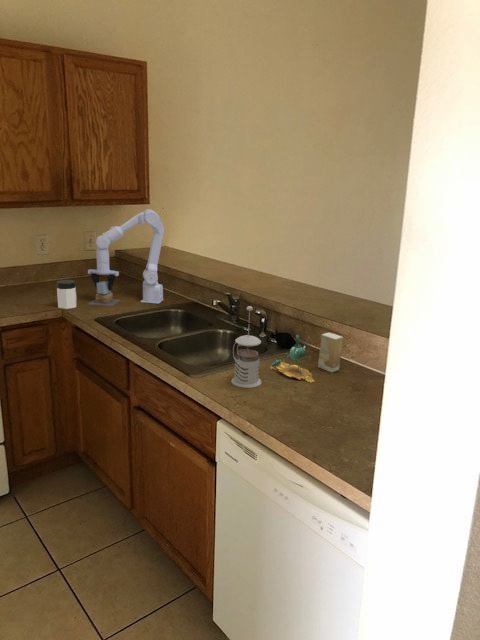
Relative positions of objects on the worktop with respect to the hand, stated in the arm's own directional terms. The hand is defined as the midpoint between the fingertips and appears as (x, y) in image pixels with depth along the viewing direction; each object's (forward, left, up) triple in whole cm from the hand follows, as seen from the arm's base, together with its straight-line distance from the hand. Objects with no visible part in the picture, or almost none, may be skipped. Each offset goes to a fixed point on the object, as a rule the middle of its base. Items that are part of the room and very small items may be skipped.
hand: (104, 289), depth 250 cm
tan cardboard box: (0, 0, -6) cm, 6 cm away
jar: (+13, +12, -7) cm, 19 cm away
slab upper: (0, 0, -4) cm, 4 cm away
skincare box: (-106, +60, -7) cm, 122 cm away
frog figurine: (-94, +67, -7) cm, 116 cm away
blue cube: (0, 0, -2) cm, 2 cm away
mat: (0, 0, -6) cm, 6 cm away
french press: (-79, +77, -7) cm, 111 cm away
